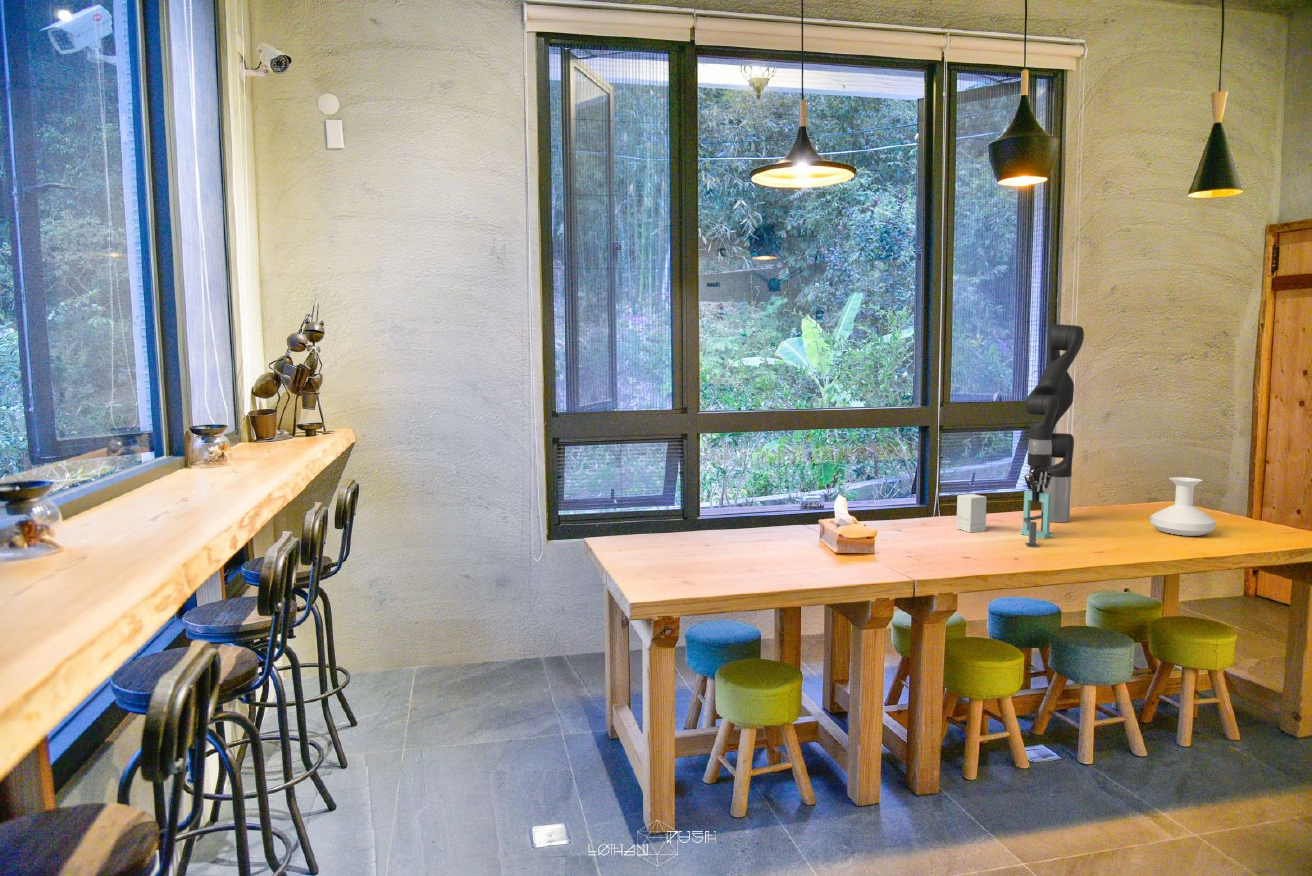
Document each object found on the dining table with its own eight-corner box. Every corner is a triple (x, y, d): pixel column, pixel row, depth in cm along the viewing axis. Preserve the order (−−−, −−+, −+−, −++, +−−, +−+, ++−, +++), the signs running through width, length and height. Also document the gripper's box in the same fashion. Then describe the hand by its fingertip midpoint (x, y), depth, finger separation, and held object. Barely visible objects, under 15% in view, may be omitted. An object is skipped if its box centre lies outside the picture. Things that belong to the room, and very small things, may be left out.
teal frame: (1027, 532, 313) (1029, 490, 312) (1051, 537, 306) (1053, 493, 304) (1020, 534, 311) (1022, 491, 309) (1044, 539, 303) (1046, 494, 302)
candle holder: (1136, 528, 320) (1139, 476, 318) (1181, 525, 325) (1184, 474, 323) (1182, 540, 301) (1186, 485, 299) (1229, 537, 306) (1233, 482, 304)
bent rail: (1014, 545, 294) (1015, 521, 293) (1030, 531, 316) (1031, 509, 315) (1038, 548, 290) (1039, 524, 289) (1053, 533, 312) (1054, 511, 311)
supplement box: (986, 531, 316) (987, 496, 314) (969, 533, 313) (971, 498, 312) (971, 527, 323) (973, 493, 321) (955, 529, 320) (956, 494, 319)
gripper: (1041, 449, 312) (1039, 498, 314) (1018, 452, 304) (1015, 501, 306) (1061, 451, 306) (1058, 501, 308) (1037, 454, 298) (1035, 505, 300)
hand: (1037, 501), depth 307 cm, fingers closed on teal frame, 1 cm apart
